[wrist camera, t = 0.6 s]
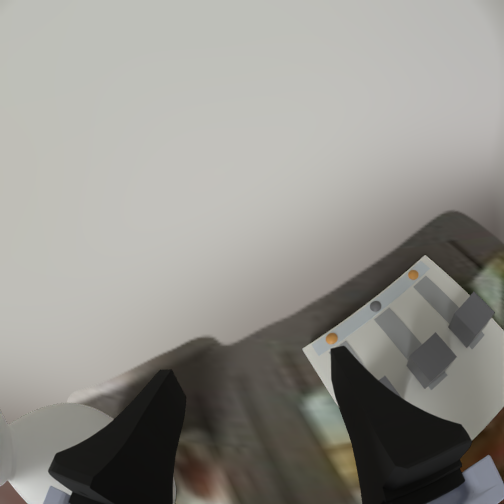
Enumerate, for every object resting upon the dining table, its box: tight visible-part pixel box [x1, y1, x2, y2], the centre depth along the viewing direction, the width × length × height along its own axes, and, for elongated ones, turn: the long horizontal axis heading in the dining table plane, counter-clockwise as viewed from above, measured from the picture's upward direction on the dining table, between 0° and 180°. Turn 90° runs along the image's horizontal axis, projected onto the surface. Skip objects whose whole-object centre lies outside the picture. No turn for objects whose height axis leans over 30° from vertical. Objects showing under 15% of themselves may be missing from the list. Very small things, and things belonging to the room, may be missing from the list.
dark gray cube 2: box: [406, 332, 457, 389], centre depth 17 cm, size 3×3×3 cm
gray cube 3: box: [448, 292, 495, 348], centre depth 17 cm, size 3×3×3 cm
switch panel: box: [302, 255, 504, 440], centre depth 19 cm, size 18×17×2 cm
